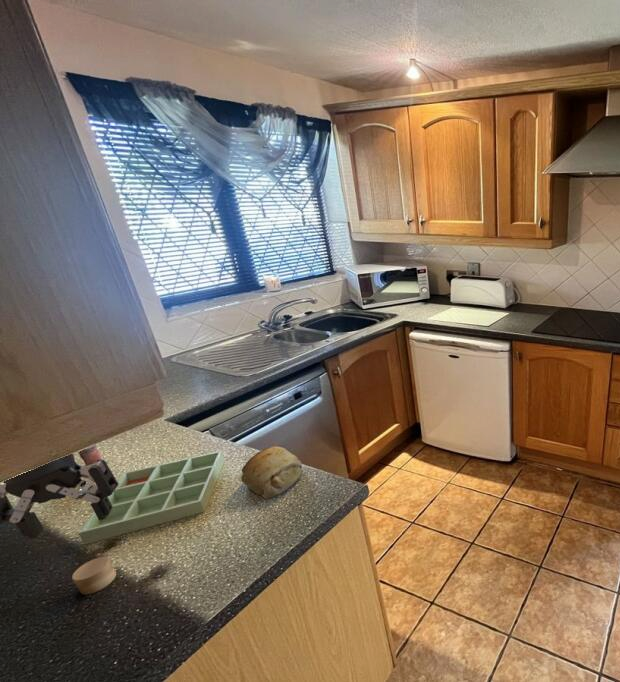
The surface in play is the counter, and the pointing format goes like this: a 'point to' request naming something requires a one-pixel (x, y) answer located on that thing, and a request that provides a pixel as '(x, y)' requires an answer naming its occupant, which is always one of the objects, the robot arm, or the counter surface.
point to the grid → (157, 496)
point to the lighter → (90, 455)
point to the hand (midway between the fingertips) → (71, 525)
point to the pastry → (271, 471)
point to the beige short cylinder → (94, 575)
